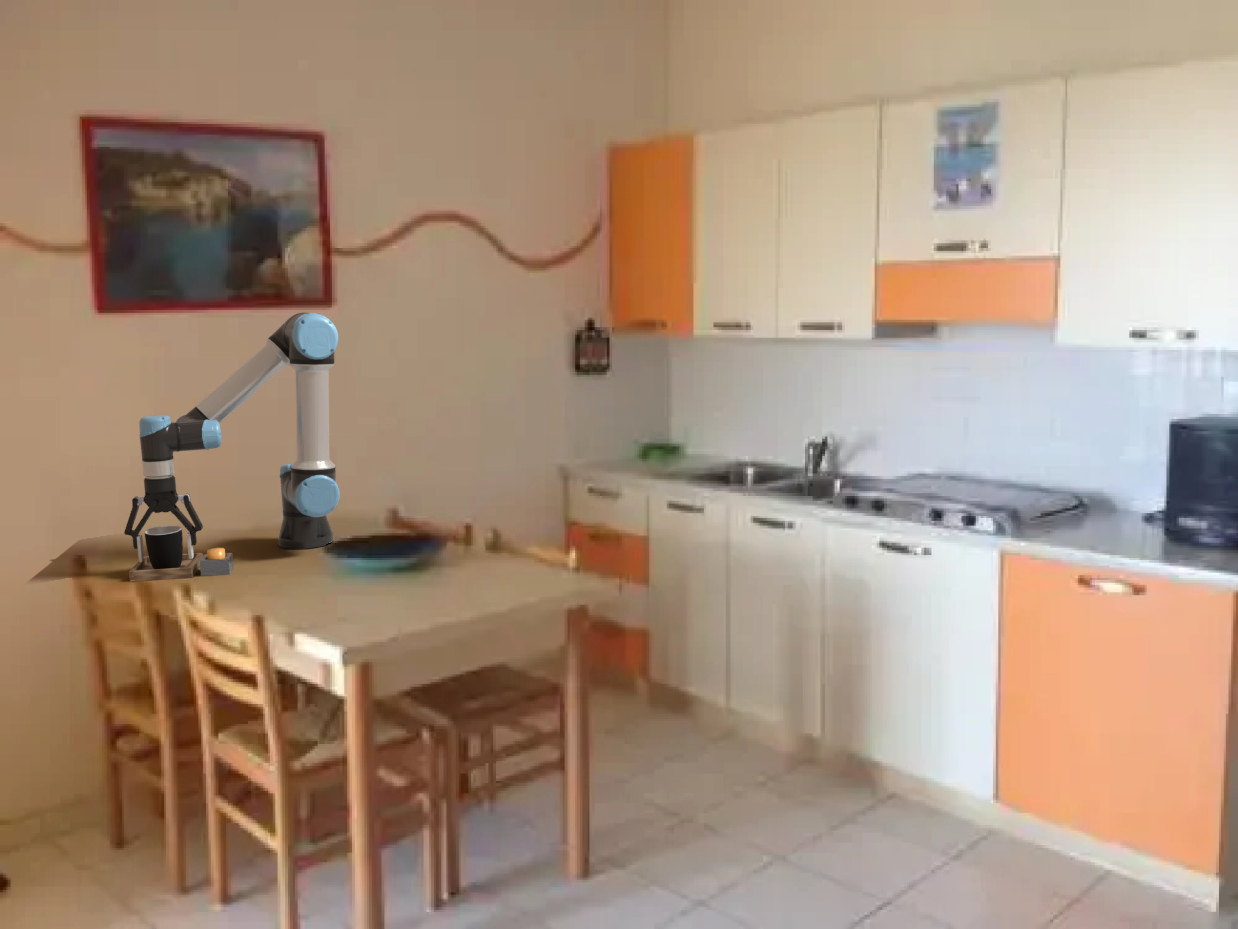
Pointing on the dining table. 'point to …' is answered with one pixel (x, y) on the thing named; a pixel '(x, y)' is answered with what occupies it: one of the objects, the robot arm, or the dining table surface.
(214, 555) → the button
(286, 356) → the robot arm
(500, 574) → the dining table surface
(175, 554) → the mug
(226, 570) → the button housing
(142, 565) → the wooden tray
